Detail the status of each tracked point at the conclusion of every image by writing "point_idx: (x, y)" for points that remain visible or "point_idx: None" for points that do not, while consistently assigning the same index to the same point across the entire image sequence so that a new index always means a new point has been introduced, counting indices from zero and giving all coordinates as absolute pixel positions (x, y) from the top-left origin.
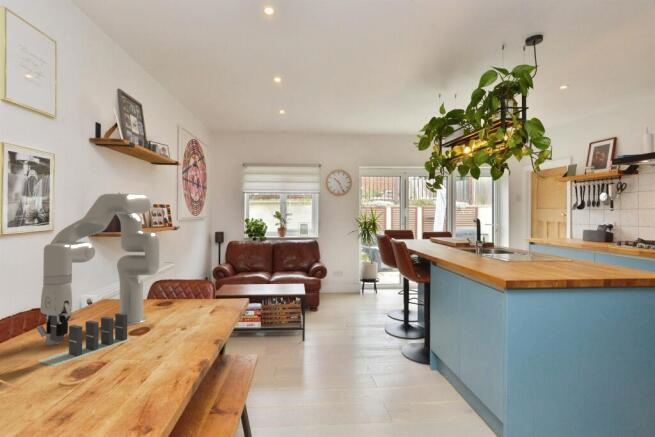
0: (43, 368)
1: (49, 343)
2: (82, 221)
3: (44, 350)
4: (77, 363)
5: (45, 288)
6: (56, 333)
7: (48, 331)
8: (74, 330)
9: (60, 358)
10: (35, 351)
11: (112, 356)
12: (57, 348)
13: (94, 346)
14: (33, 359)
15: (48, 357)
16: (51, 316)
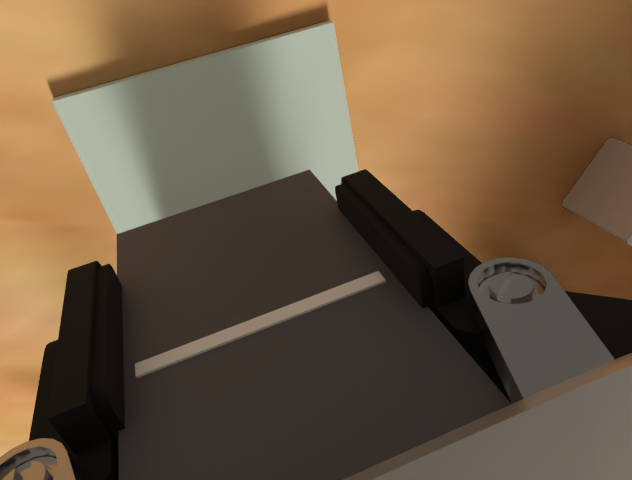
0: (111, 25)
1: (611, 161)
2: None
3: (546, 115)
4: (29, 253)
5: None
6: (76, 287)
7: (345, 202)
8: None
9: (233, 172)
10: (583, 64)
11: (10, 441)
12: (505, 186)
13: None
14: (425, 14)
15: (339, 107)
16: (464, 416)
